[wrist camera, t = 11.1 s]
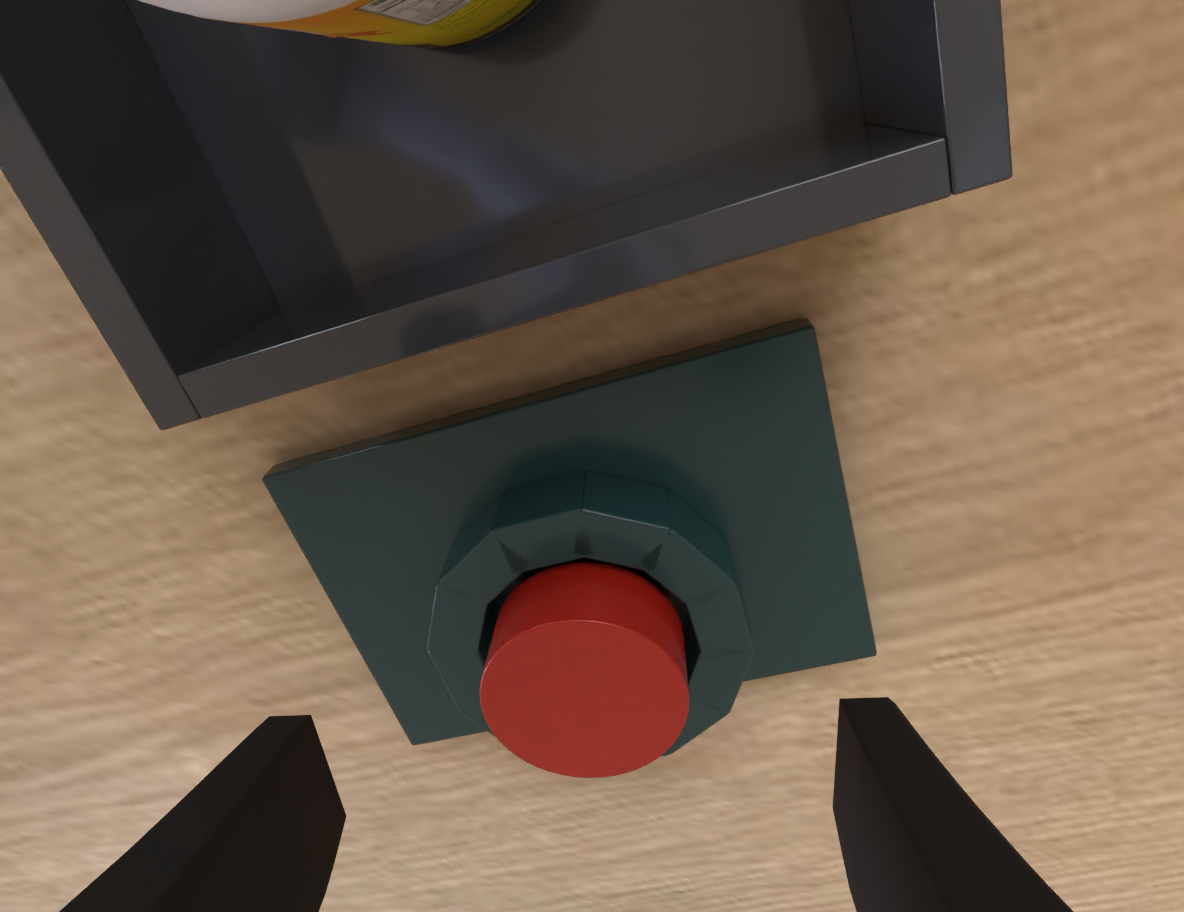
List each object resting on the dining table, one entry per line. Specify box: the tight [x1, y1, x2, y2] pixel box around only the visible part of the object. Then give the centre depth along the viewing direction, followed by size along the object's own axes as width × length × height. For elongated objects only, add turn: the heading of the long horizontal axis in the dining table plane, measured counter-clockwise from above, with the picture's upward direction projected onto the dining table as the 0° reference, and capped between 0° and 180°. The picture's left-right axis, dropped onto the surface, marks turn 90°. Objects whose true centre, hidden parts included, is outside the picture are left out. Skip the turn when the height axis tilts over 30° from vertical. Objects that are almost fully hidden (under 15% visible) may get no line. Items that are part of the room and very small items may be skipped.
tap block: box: [262, 318, 877, 757], centre depth 18 cm, size 13×9×2 cm
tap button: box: [479, 562, 689, 778], centre depth 17 cm, size 4×4×2 cm
